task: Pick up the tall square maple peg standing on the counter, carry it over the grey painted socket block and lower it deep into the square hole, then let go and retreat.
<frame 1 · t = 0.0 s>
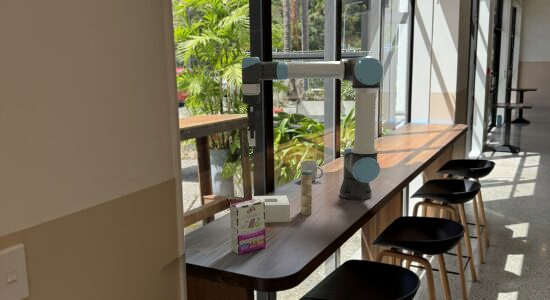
hand: (251, 143, 211), 28 cm above the table, fingers open, 13 cm apart
candy bar box: (248, 249, 166), on the table
mug: (312, 181, 263), on the table
peg: (306, 212, 206), on the table
socket: (271, 216, 201), on the table
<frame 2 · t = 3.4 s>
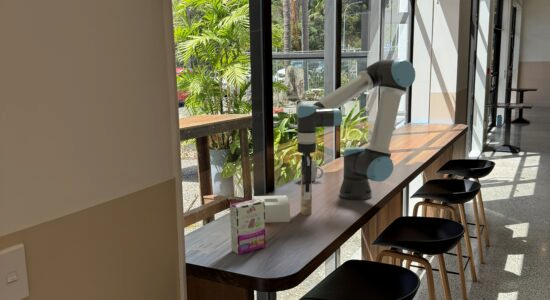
hand: (306, 197, 205), 7 cm above the table, fingers closed on peg, 4 cm apart
peg: (306, 212, 206), on the table, touching gripper
everything else where it was.
when the fingers open (9 cm above the table, at t = 8.1 s): peg drops 2 cm, resting in socket.
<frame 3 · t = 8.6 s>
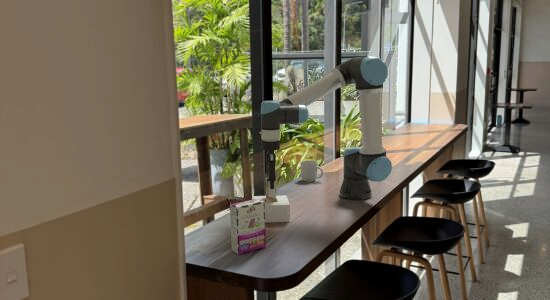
hand: (270, 192, 199), 10 cm above the table, fingers open, 11 cm apart
peg: (271, 216, 201), resting in socket
everything else where it was.
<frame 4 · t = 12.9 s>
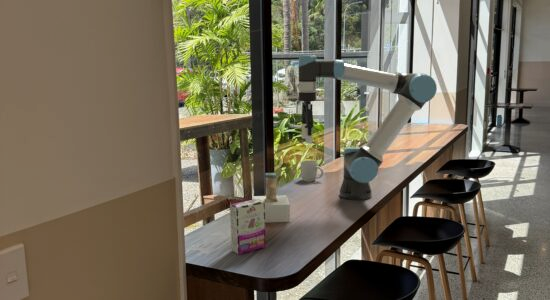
hand: (306, 140, 214), 29 cm above the table, fingers open, 13 cm apart
nothing on the table moved.
at the end: peg 0.1 cm off-centre on the socket, point 0.0 cm above the socket's base; peg tilted 0°; the gripper is holding nothing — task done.
